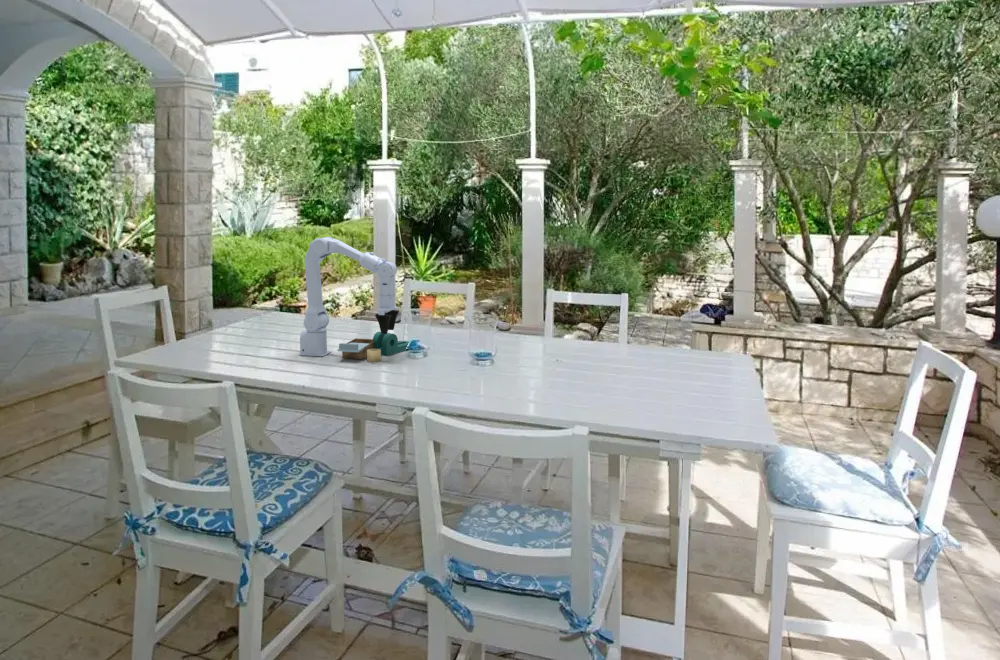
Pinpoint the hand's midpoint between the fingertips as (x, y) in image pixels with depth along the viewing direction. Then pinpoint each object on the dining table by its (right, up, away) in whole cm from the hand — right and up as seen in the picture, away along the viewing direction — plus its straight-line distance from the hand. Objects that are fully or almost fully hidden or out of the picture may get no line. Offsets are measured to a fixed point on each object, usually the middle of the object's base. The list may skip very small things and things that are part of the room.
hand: (387, 331), depth 273 cm
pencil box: (-11, -9, +7) cm, 16 cm away
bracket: (0, -8, +15) cm, 17 cm away
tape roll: (-5, -11, -2) cm, 12 cm away
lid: (-12, -6, 0) cm, 14 cm away
